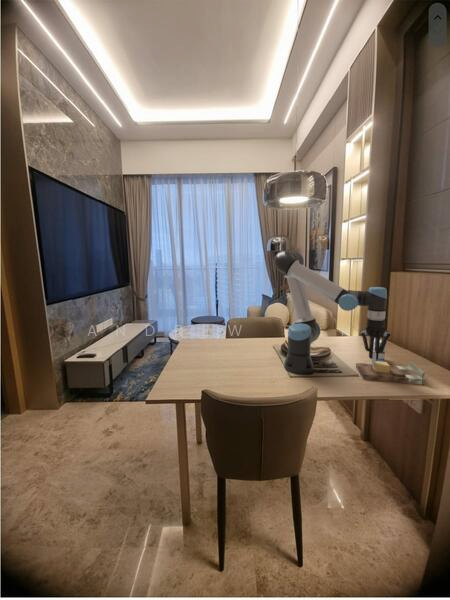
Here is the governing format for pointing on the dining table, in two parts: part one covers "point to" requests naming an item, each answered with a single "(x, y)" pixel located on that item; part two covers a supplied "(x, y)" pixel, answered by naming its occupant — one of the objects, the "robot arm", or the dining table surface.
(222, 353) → the dining table surface
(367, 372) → the board
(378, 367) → the ochre block
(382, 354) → the ink box
